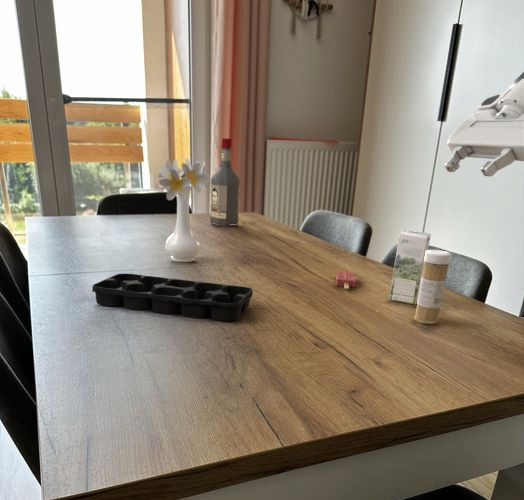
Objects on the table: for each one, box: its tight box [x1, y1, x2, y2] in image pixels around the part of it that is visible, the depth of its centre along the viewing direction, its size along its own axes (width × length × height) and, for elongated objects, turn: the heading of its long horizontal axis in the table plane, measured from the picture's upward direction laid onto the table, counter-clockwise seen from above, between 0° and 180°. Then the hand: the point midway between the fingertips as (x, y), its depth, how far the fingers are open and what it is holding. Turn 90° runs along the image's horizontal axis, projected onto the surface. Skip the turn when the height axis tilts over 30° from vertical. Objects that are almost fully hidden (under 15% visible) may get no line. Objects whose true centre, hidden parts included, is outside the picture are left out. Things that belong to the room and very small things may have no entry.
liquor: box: [209, 137, 241, 228], centre depth 187 cm, size 9×9×30 cm
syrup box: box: [388, 229, 431, 305], centre depth 109 cm, size 6×6×14 cm
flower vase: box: [157, 157, 211, 263], centre depth 130 cm, size 13×18×25 cm
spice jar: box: [413, 249, 452, 326], centre depth 96 cm, size 5×5×13 cm
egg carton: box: [91, 273, 254, 323], centre depth 98 cm, size 18×30×4 cm, turn 89°
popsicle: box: [335, 270, 357, 290], centre depth 121 cm, size 4×2×15 cm
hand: (465, 171), depth 89 cm, fingers open, 8 cm apart
